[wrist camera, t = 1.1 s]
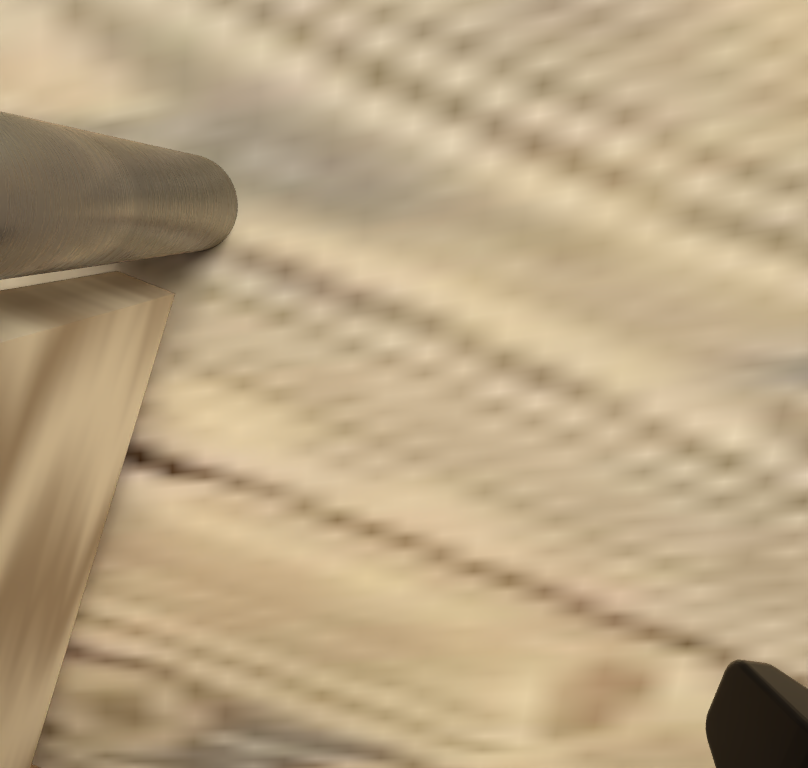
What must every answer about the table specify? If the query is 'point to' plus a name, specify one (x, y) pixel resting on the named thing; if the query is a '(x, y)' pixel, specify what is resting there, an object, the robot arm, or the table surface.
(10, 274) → the hinge post
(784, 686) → the robot arm
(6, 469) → the gate
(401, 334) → the table surface
